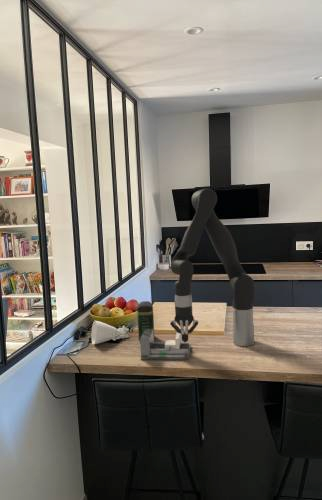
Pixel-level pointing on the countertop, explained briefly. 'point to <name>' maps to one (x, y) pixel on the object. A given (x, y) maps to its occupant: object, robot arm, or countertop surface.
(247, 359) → the countertop surface
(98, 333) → the funnel
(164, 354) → the frame
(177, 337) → the cream t-shaped handle
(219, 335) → the countertop surface
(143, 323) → the coffee jar
